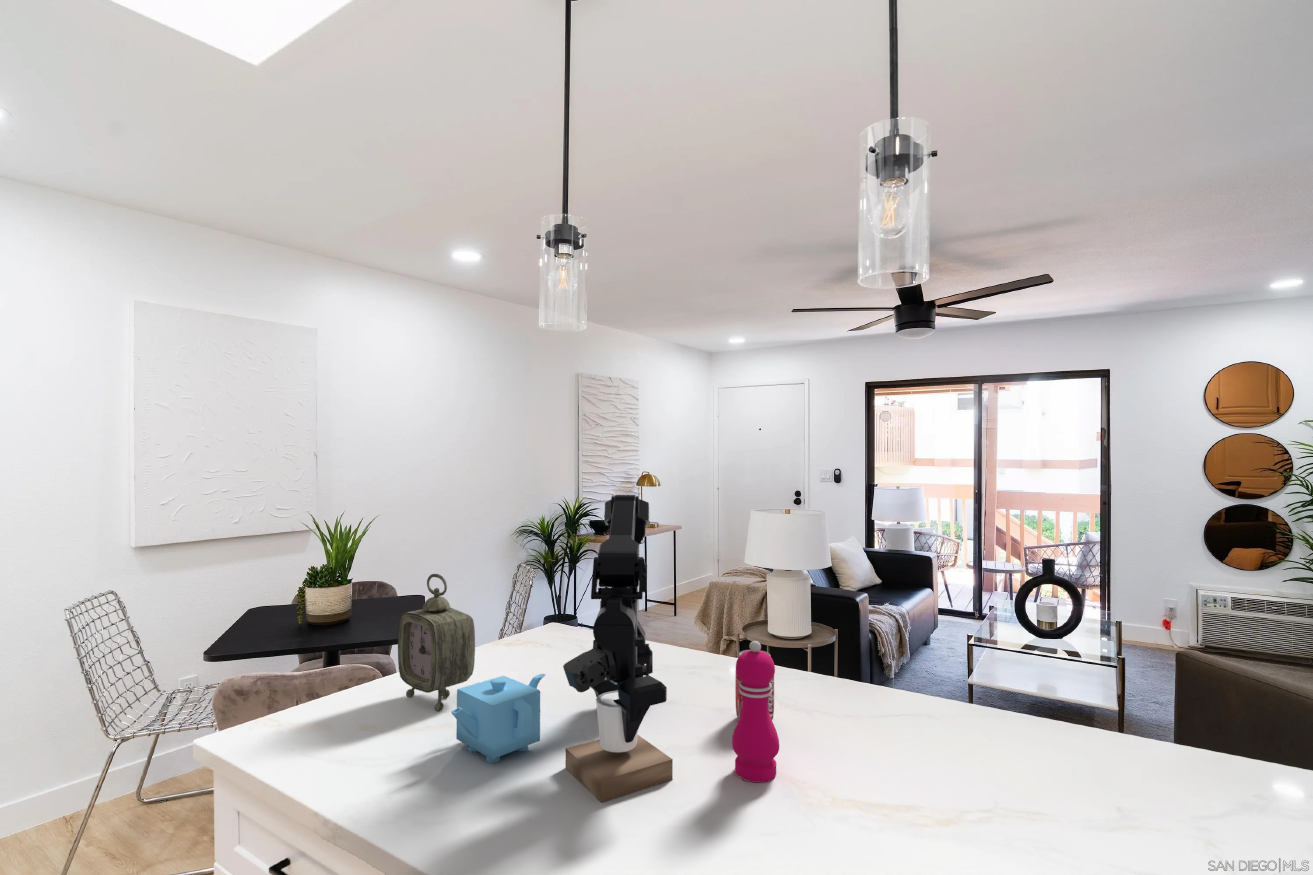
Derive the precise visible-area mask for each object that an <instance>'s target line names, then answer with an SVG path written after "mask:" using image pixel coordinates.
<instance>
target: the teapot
mask: <svg viewBox="0 0 1313 875" xmlns="http://www.w3.org/2000/svg"><path fill="white" fill-rule="evenodd" d="M545 676H546V673H540V674H536V675H535V676H533V677H532V679H531V680H530V682H529V684H526V683H523V682H521V681H518V680H516V679H513V678H510V677H509V676H506V675H501V676H498V677H494V678H491V679H488V680H483V681H481V682H476V683H474V684H471V685H466V686H463V687H460V688H457V689H456V708H455V709H454V710H451V711H450V712H451V714H452V716H453V717H454V718H455V719H456V733H455V735H456V736H455V737H456V740H457V741H459V742H461V743H462V744H464V745H466V746H468V747H467V749H466V750H467V751H468V752H470V753H471V752H472V753H473V752H475V753H476V752H478V753H479V754H482V755H483V756H485V762H487V763H490V764H493V763H497V762H499V761H500V760H501V757H502V756H505V755H508V754H509V753H512V752H515V751H517V752H524V751H528V750H529V745H530V746H531V745H533V744H535V743H538V742H540V741H541V691H540V689H538V686H539V683H540V681H541V680H542V679H543V678H544V677H545Z"/></svg>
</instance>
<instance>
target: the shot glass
mask: <svg viewBox="0 0 1313 875" xmlns="http://www.w3.org/2000/svg"><path fill="white" fill-rule="evenodd" d="M616 699H619V697H618V691H609V692H605V693H602V694H601V695H599V696H598V697H596V699H595V701H596V714H597V726H598V737H599V738H598V739H600V746H601V748H603V749H604V750H606V751H610V752H626V751H629V750H632V749H633V748H634V747H636V744H637V735H639V734H638V733H639V730H638V731H637V733H636V735H635V737H634V739H633V741H632V742H629V743H626V742H625V737H624V730H623V720H622V710H621V708H620V707H619V706H618V705H617V704H616V703H614V701H613V700H616Z"/></svg>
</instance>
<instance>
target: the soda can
mask: <svg viewBox="0 0 1313 875" xmlns="http://www.w3.org/2000/svg"><path fill="white" fill-rule="evenodd" d="M749 650H750V649H745V650H742V651H740V652H739V653H738V657H739V656H740V655H741V654H742V653H744V652H746V651H749ZM762 651H763V652H765V653H767V654H768V655H769V656H770V657H771V654H770V653H769V652H767V651H764V650H762ZM734 680H735V684H734V685H735V693H734V694H735V713H736V714H735V715H736V718H737V719H739V718H740V716H741V711H742V694H741V693H740V692H739V688H740V686H739V682H740V681H741V680H740V678H739V677H738V676H737V673H736V672H735V679H734ZM770 683H771V685H772V688H771V691H772V694H771V695H770V696H769V700H768V706H769V713H770V717H771V719H772V720H774V716H775V715H774V713H775V676H774V677H773V678H772V680H771V681H770Z"/></svg>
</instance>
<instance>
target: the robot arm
mask: <svg viewBox="0 0 1313 875" xmlns="http://www.w3.org/2000/svg"><path fill="white" fill-rule="evenodd" d="M603 518H604V520H603V522H604V524H605V526H608V539H606V540H605V541H603V542H601V543H600V545H599V549H598V555H597V556H593V565H592V574H591V575H592V576H591V578H592V579H591V590H590V600H600V601H599V611H598V613H597V615H596V619H595V621H594V623H593V628H592V634H593V637H594V639H593V642H592V649H591V648H590V650H587V651H584V652H582V653H580V654H579V655H577V656H576V657H573V658H572V659H570V660H569V661H567V662H565V663H564V664H563V665H562V668H563V671H564V673H565V677H566V679H567V683H568V686H569V687H572V688H573V689H574V690H576V692H578V693H585V692H587V691H589V690H590V688H591V689H592V690H593V691H594V695H595V697H596V698H597V697H598V696H599V695H601V694H602V693H605V692H609V691H618V697H619V699H616V700H613V701H614V703H616V704H617V705H618V706H619V707H620V708H621V710H622V720H623V730H624V737H625V742H626V743H629V742H632V741H633V739H634V737H635V735H636V733H637V731H638V732H639V728H640V726H641V725H642V722H643V720H644V717H646V714H647V712H648V710H649V709H650V708H651V706H654V705H659V704H664V703H666V702H667V700H668V699H667V695H668V693H667V690H668V689H667V686H666V685H665V684H664V683H663V682H662V681H660V680H658V679H657V678H655V677H653V676H651V675H650V674H653V673H654V672H653V671H654V670H653V667H654V666H653V665H654V664H653V663H654V662H653V650H652V649H651V647H650V643H646V641H647V640H646V637H647V636H646V631H645V629H644V628H643V626H642V624H641V623H640V621H639V617H638V616H639V612H638V611H639V605H638V604H639V600H643V595H644V593H647V592H648V591H647V589H648V588H647V587H648V586H647V585H648V563H646V562H645V558H644V556H640V544H641V543H642V541H643V539H644V538H645V536H646V531H647V530H646V529H647V528H646V526H650V503H649V501H646V500H643V499H640V496H639V495H638V496H637V495H636V494H615V495H612V496H611V498H610V500H608V501H605V502H604V517H603Z"/></svg>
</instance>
